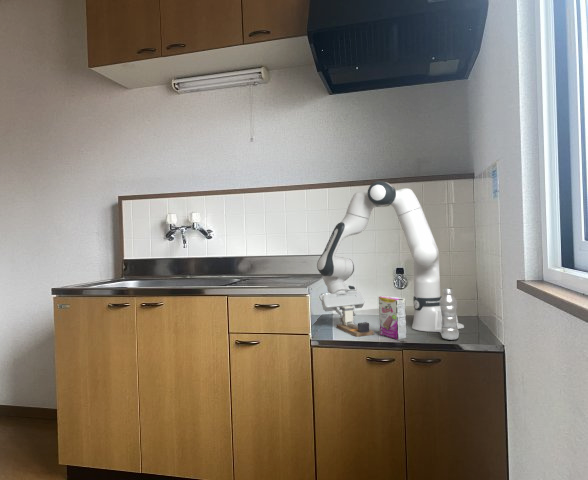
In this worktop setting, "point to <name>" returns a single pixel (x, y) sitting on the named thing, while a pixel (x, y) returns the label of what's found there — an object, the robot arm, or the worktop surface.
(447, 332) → the plastic bottle
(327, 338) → the worktop surface
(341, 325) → the rail board
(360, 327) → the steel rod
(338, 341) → the worktop surface
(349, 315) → the grey-banded white pillar
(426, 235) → the robot arm
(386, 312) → the candy bar box
